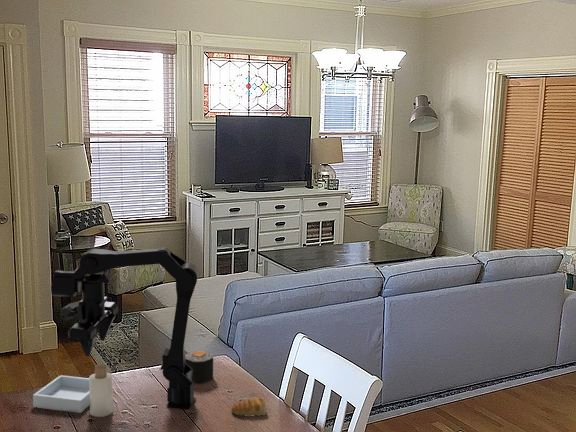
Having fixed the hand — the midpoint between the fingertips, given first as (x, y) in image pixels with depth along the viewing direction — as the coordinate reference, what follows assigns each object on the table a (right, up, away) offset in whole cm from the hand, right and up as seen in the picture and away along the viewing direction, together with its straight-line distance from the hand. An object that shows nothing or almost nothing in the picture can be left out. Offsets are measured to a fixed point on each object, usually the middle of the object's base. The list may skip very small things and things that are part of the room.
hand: (95, 347), depth 179 cm
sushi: (+26, -13, +20) cm, 35 cm away
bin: (-8, -15, +3) cm, 17 cm away
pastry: (+43, -17, -2) cm, 47 cm away
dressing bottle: (+3, -16, -4) cm, 17 cm away
